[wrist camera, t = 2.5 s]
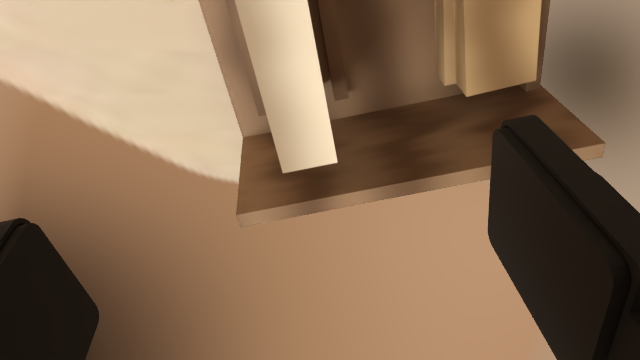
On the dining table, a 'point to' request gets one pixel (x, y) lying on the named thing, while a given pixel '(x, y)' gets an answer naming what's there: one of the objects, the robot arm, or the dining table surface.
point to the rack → (377, 111)
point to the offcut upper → (495, 43)
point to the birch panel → (289, 80)
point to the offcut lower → (445, 41)
